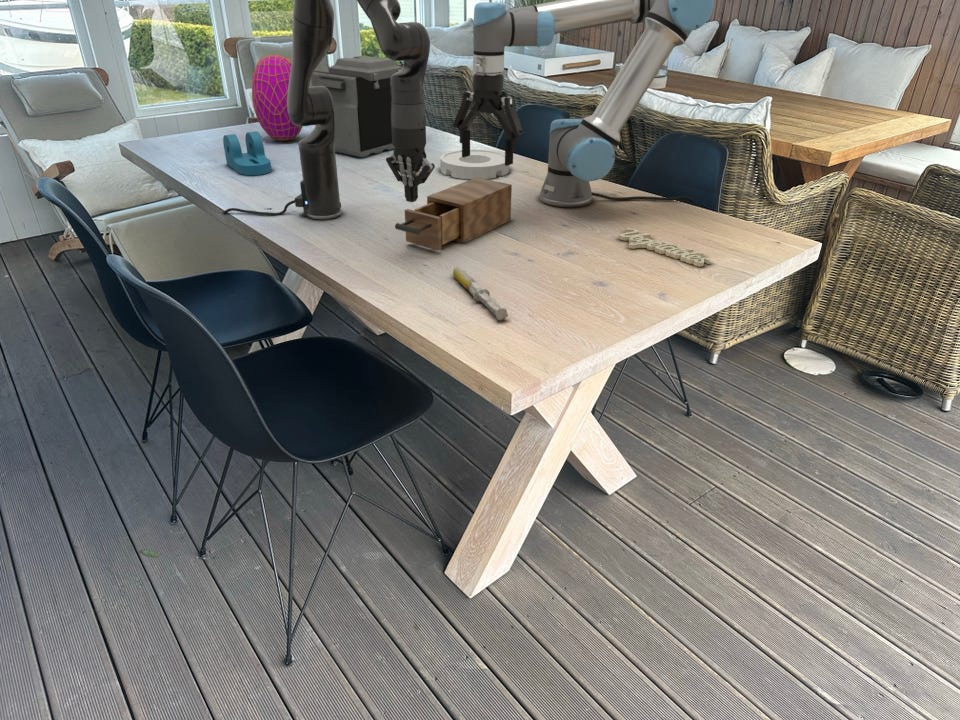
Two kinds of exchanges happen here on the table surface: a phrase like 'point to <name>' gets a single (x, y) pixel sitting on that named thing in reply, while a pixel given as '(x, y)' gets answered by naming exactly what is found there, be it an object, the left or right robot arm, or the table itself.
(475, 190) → the cabinet
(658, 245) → the decorative sign
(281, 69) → the decorative egg
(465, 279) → the syringe
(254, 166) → the camera mount
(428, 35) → the left robot arm
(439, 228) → the drawer
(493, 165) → the ashtray
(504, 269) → the table surface
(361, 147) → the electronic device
